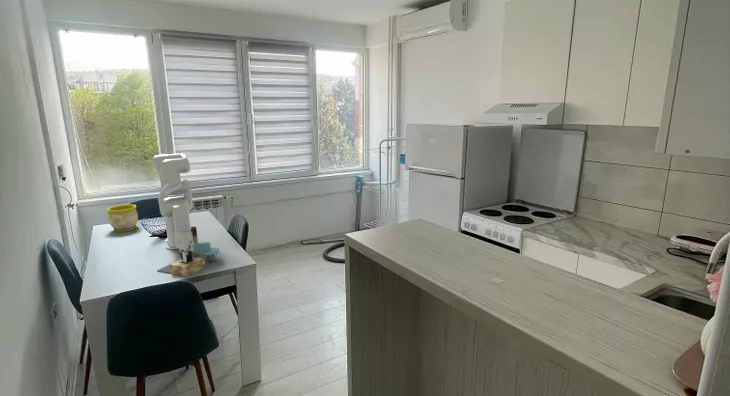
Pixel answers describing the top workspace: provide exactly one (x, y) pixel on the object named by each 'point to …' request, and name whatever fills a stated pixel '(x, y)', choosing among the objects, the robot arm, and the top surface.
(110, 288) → the top surface
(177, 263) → the block
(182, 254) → the hook peg
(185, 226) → the robot arm
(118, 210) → the flowerpot
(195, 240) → the coffee box
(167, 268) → the place mat
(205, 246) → the teal toy sofa
